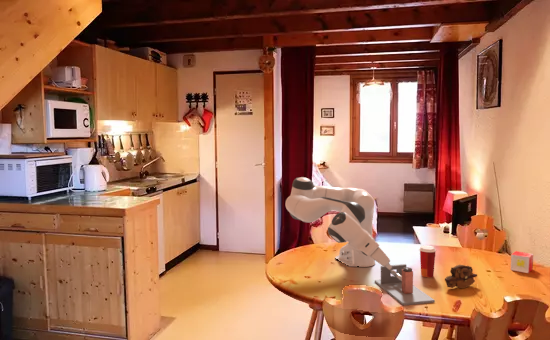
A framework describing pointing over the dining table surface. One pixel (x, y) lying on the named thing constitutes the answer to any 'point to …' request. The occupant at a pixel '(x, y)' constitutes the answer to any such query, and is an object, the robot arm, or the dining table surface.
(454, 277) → the wooden carving
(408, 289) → the pink l-shaped bar
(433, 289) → the dining table surface
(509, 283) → the dining table surface
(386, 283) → the gray stand
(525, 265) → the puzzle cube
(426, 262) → the paper cup
